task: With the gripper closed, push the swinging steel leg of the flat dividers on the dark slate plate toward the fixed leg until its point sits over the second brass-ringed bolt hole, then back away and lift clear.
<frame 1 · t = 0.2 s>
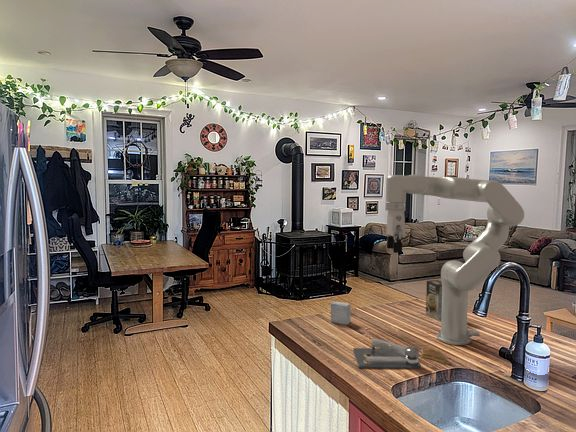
hand: (394, 250, 159), 36 cm above the worktop, tool pointing down, fingers open, 9 cm apart
shard: (436, 358, 146), on the worktop
coffee box: (437, 316, 190), on the worktop
medicine box: (340, 322, 182), on the worktop
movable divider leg: (393, 349, 144), point 4 cm above the worktop, hinge at -40.0°
divider base plate: (411, 365, 139), on the worktop
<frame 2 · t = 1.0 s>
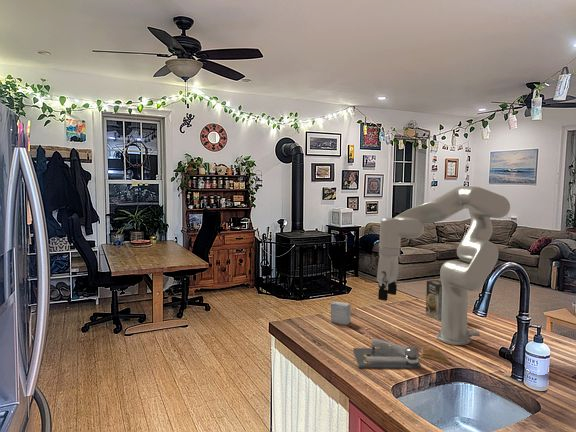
hand: (387, 297, 151), 20 cm above the worktop, tool pointing down, fingers open, 9 cm apart
nothing on the worktop moved.
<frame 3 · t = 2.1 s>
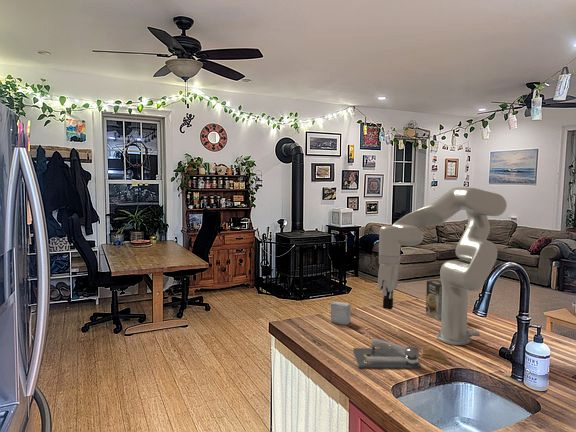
hand: (387, 308, 150), 16 cm above the worktop, tool pointing down, fingers closed
nothing on the worktop moved.
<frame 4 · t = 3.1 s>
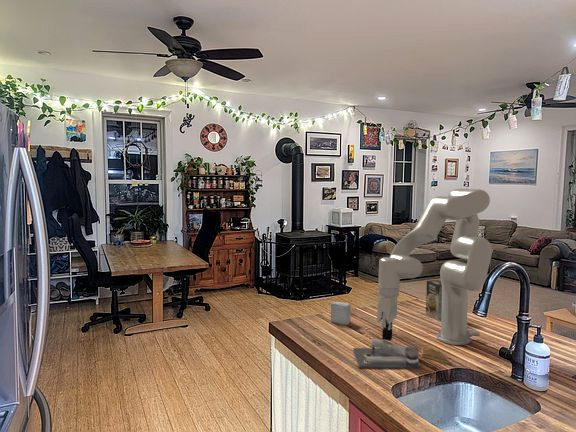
hand: (387, 339, 151), 4 cm above the worktop, tool pointing down, fingers closed
nothing on the worktop moved.
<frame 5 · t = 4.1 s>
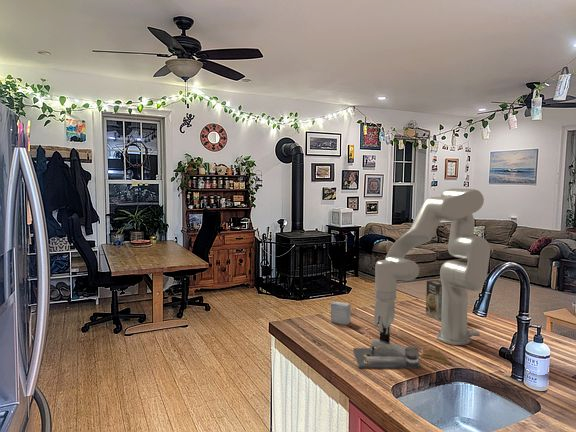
hand: (384, 343, 148), 4 cm above the worktop, tool pointing down, fingers closed
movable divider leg: (393, 350, 143), point 3 cm above the worktop, hinge at -38.9°, touching gripper
everything else where it was.
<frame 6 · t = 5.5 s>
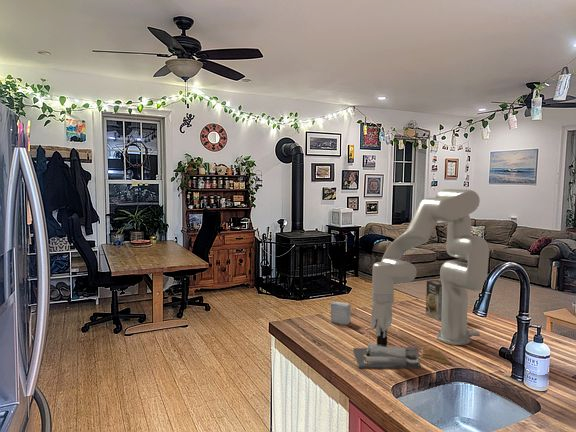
hand: (382, 346, 146), 4 cm above the worktop, tool pointing down, fingers closed
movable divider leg: (391, 352, 142), point 3 cm above the worktop, hinge at -20.1°
everything else where it was.
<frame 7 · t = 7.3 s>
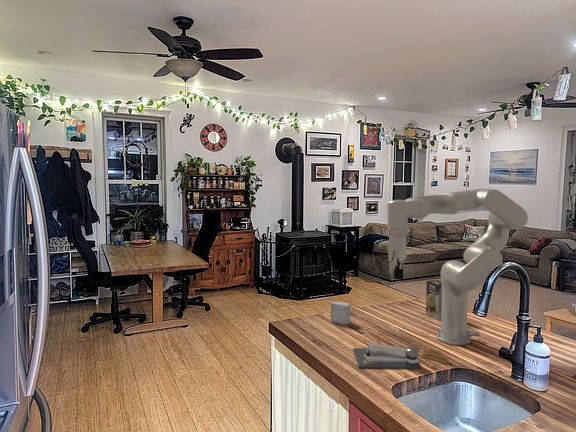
hand: (398, 278, 158), 25 cm above the worktop, tool pointing down, fingers closed
nothing on the worktop moved.
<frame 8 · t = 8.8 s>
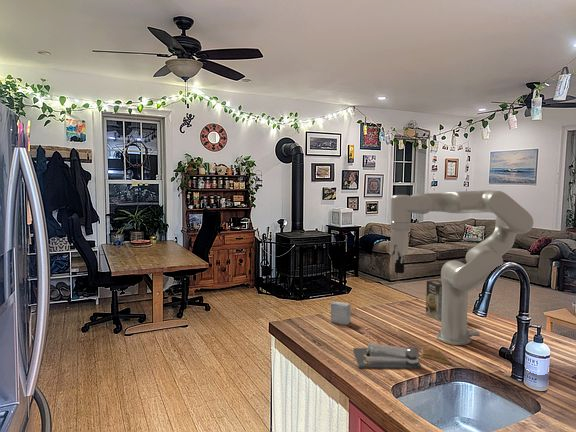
hand: (399, 272, 160), 27 cm above the worktop, tool pointing down, fingers closed
nothing on the worktop moved.
at the end: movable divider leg at -20° (first picture: -40°) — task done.
